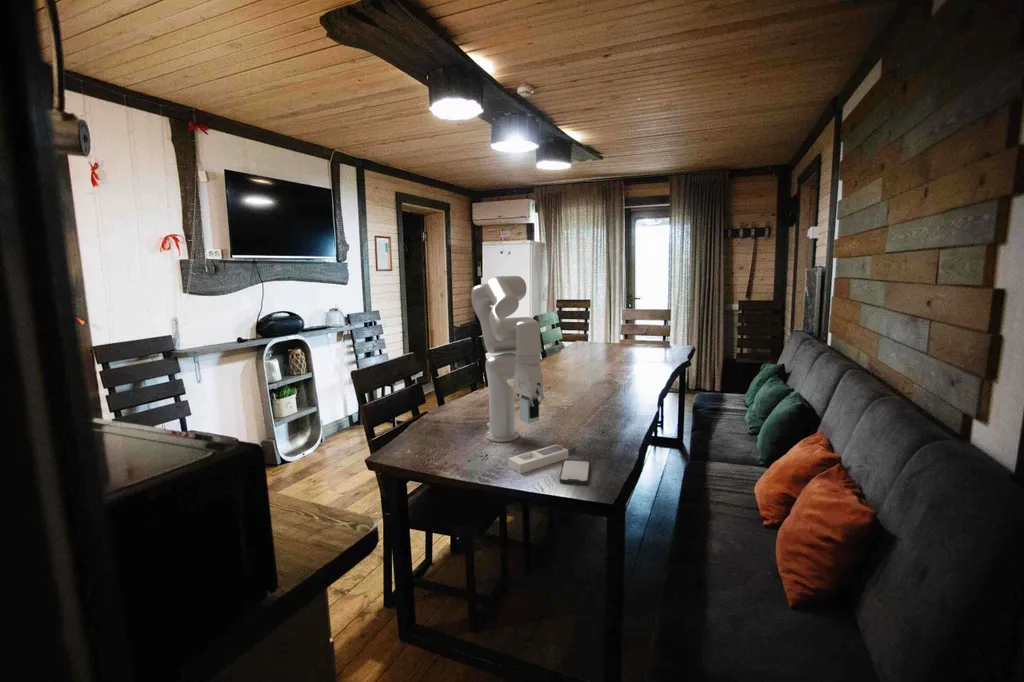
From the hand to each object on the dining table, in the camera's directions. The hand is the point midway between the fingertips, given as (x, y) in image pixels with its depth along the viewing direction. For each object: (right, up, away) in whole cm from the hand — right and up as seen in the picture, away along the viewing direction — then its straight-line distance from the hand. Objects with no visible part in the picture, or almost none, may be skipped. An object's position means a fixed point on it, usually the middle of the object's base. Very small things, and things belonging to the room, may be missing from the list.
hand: (529, 415), depth 159 cm
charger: (0, -2, 0) cm, 2 cm away
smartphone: (+14, -18, -3) cm, 24 cm away
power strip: (+6, -16, +7) cm, 19 cm away
